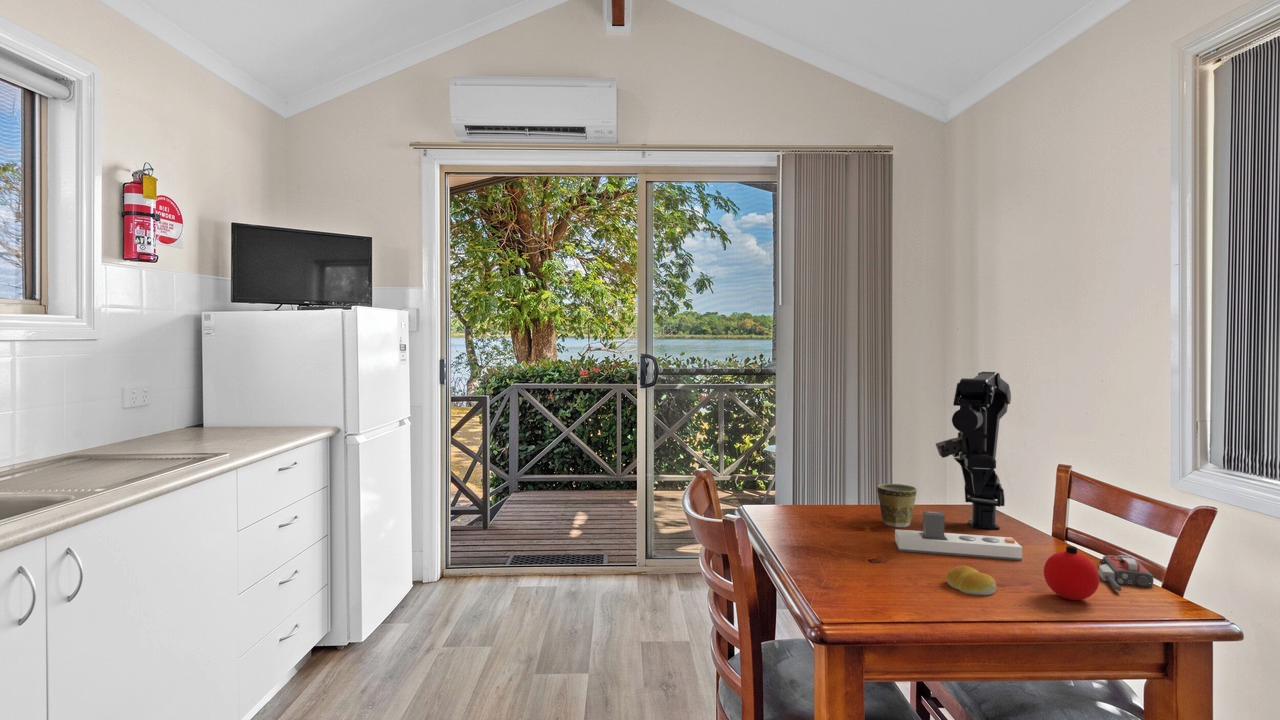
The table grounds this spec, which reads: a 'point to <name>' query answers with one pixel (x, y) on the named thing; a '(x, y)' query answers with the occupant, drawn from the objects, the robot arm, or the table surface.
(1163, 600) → the table surface
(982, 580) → the bread roll
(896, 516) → the ceramic cup
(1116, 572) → the walkie-talkie
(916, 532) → the power strip
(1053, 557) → the ornament
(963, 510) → the table surface
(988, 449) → the robot arm
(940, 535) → the grey rectangular block
